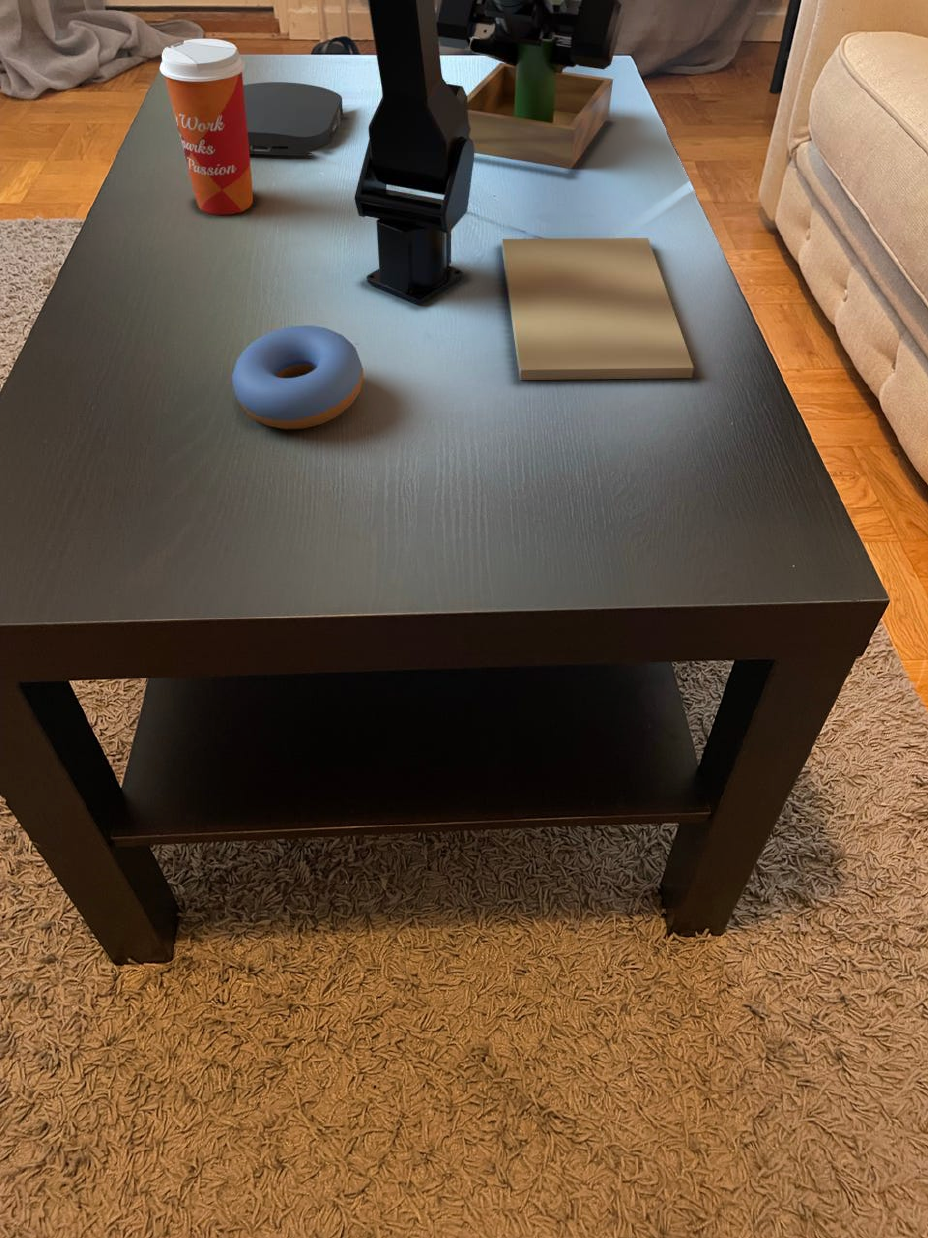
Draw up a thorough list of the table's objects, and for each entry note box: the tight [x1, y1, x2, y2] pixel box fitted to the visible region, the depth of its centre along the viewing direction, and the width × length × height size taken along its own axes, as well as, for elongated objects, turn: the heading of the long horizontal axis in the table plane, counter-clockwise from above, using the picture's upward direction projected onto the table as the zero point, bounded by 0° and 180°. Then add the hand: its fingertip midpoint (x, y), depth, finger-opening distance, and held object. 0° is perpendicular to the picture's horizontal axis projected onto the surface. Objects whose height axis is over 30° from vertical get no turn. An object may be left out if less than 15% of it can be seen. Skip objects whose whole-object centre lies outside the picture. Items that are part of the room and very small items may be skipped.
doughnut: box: [231, 324, 364, 430], centre depth 74 cm, size 10×10×5 cm
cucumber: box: [514, 0, 563, 123], centre depth 105 cm, size 4×4×14 cm
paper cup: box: [159, 38, 254, 216], centre depth 94 cm, size 8×8×14 cm
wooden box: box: [466, 62, 614, 170], centre depth 109 cm, size 16×14×5 cm
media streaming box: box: [243, 81, 344, 156], centre depth 110 cm, size 15×15×3 cm
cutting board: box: [501, 237, 695, 381], centre depth 86 cm, size 22×14×1 cm, turn 2°
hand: (540, 65), depth 106 cm, fingers closed on cucumber, 4 cm apart
